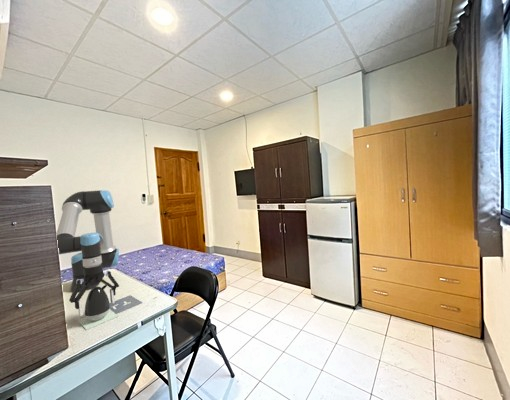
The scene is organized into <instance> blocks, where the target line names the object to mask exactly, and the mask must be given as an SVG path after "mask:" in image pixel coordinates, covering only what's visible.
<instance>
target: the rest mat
mask: <svg viewBox="0 0 510 400" xmlns="http://www.w3.org/2000/svg"><path fill="white" fill-rule="evenodd" d="M118 317H119V316H118V314H115V313H114V312H113V311H111V310H110V309H109V311H108V313H107V315H106V316H105V317H103V318H102V319H100V320H96V321H91V320H89V319H87V317H86V316H85V317H82V318H80V319H78V320H77V321H78V322H79V324H81V326H82V327H83V328H84V329H85V330H86V331H88V330H90V329H92V328H95V327H98V326H99V325H103V324H105V323H106V322H109V321H111V320H113V319H115V318H118Z"/></svg>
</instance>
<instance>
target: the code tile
mask: <svg viewBox="0 0 510 400" xmlns="http://www.w3.org/2000/svg"><path fill="white" fill-rule="evenodd" d="M109 303H110V308H109V309H110V310H111V311H113V312H114V313H115V314H116V315H118V314H120V313H123V312H125V311H127V310H129V309H131V308H133V307H136V306H139V305H141V304H143V301H141V300H139V299H137V298H136V297H134V296H133V295H130V294H129V295H127V296H125V297H122V298H119V299H116V300H114V303H111V302H109Z"/></svg>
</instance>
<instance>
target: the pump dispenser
mask: <svg viewBox="0 0 510 400" xmlns="http://www.w3.org/2000/svg"><path fill="white" fill-rule="evenodd" d="M107 287H108V286H107V285H105V284H104V285H103V286H102V287H101V286H96V287H94V288H92V289H89V290H90V291H89V293H88V294H87V297H86V300H85V304H84V315H85V317H87V319H89V320H91V321H96V320H100V319H102V318H103V317H105V316H106V315H107V313H108V311H109V308H110V303H111V302H110V300H109V296H108V295H107V293H106V291H105V289H106V288H107Z"/></svg>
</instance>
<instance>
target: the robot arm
mask: <svg viewBox="0 0 510 400" xmlns="http://www.w3.org/2000/svg"><path fill="white" fill-rule="evenodd" d="M113 208H114V200H113V197H112V193H111V191H109V190H88V191H87V190H86V191H84V190H83V191H78V192H75V193H73V194H71V195H70V196H69V197H67V198H66V199H65V200H64V201H63V203H62V206H61V211H62V214H61V217H60V220H59V224H58V228H57V230H56V234H57V240H58V248H59V255H64V254H71V253H76V252H79V253H76V254H73V255H72V256H71V259H70V260H71V261H70V263H71V270H72V271H71V272H72V281H71V285H70V292H71V295H70V297H69V299H68V300H69V302H70V303H71V304H72V303H74V307H75V309H76V310H77V311H78V315H79V316H80V317H82V316H83V309H82V301H81V299H82V297H83V296H84V294H85V293H86V292H87V291H88V290H91V289H92V288H94V287H99V285H100V283H102V284H104V285H107V286H106V287H109V297H110V300H109V301H110V303H114V301H115V298H114V297H115V296H116V295H117V294H116V293H117V292H116V290H117V288H119V287H120V284H118V282H117V280H115V278H114V277H113V275H112V272H111V270H106V271H105V272H104V269H106V268H107V269H108V268H113V267H117V265H119V257H120V256H119V253H120V252H119V251H120V249H119V248H117V246H116V245H114V242H113V241H114V240H113V233H112V225H111V217H110V212H111V211H112V209H113ZM87 210H89V212H90V214H91V215H93V222H94V227H95V232H89V233H84V234H81V235H78V236H76V231H77V227H78V221H79V217H80V214H81V213H82V212H83V211H87ZM59 255H58V256H59ZM105 276H106V277H107V278H108V279H109V280H110V281H111V282H112V284H111V283H110V282H108V281H106V280H104V277H105Z"/></svg>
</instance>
